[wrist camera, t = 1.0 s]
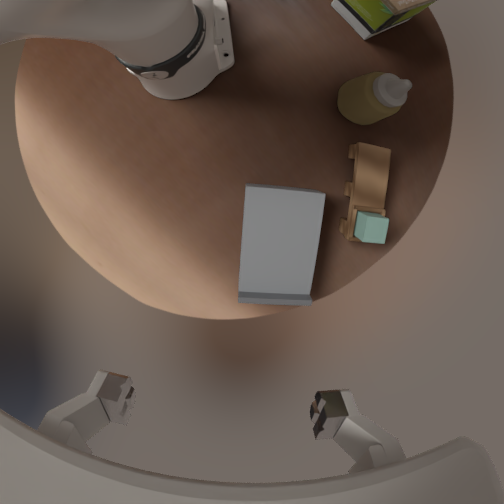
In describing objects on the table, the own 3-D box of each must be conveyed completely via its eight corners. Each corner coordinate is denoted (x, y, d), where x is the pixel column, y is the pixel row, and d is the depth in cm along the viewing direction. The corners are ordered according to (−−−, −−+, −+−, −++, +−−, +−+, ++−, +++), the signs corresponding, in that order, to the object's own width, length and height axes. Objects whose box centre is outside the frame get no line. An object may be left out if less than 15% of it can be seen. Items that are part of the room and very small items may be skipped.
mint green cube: (357, 210, 41) (367, 216, 37) (377, 213, 41) (389, 219, 38) (353, 234, 42) (362, 241, 39) (373, 236, 43) (384, 243, 39)
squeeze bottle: (379, 119, 40) (442, 108, 23) (342, 133, 41) (397, 124, 24) (360, 79, 37) (415, 50, 20) (322, 91, 38) (366, 59, 21)
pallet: (349, 142, 42) (361, 141, 37) (379, 149, 42) (393, 149, 37) (338, 231, 47) (348, 240, 42) (367, 234, 47) (379, 243, 42)
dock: (245, 183, 43) (246, 187, 37) (317, 190, 44) (329, 195, 38) (238, 283, 49) (238, 302, 43) (302, 286, 50) (311, 305, 44)
